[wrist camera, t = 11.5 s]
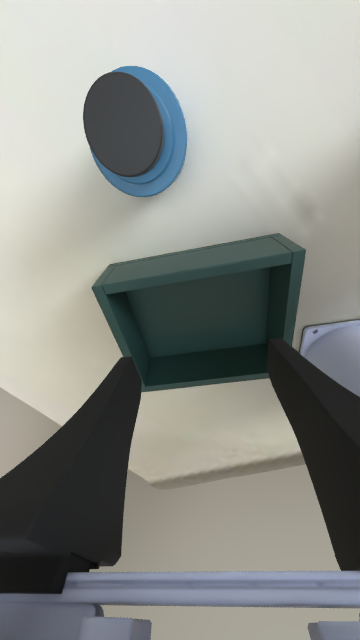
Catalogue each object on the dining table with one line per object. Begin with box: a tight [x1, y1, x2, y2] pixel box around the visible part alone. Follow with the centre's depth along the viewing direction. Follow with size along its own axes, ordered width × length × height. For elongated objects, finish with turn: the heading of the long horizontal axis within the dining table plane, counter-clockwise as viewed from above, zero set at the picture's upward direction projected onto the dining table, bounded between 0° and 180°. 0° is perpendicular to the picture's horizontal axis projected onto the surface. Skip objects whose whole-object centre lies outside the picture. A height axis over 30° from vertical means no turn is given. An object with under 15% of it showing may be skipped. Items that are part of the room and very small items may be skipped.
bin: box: [92, 233, 306, 392], centre depth 20 cm, size 15×12×5 cm
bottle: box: [83, 66, 187, 197], centre depth 11 cm, size 5×5×8 cm
